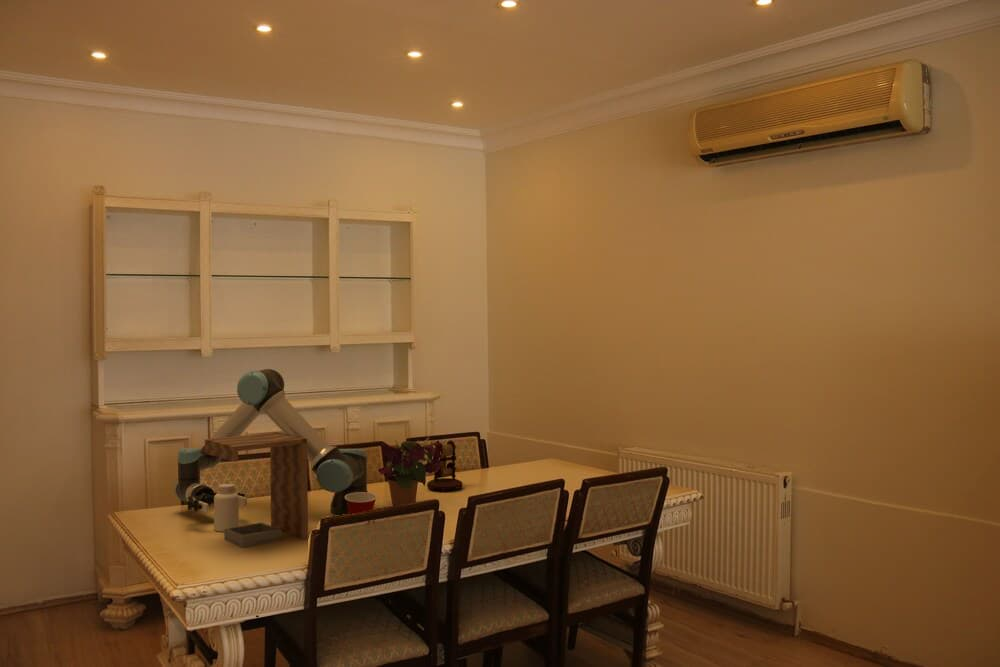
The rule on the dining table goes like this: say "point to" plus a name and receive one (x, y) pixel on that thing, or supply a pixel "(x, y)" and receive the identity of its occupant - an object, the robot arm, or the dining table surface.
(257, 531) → the tray
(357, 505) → the plastic cup
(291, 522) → the wooden l-shaped stand
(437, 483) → the dark mug tree
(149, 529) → the dining table surface
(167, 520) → the dining table surface
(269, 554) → the dining table surface
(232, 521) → the pill bottle
